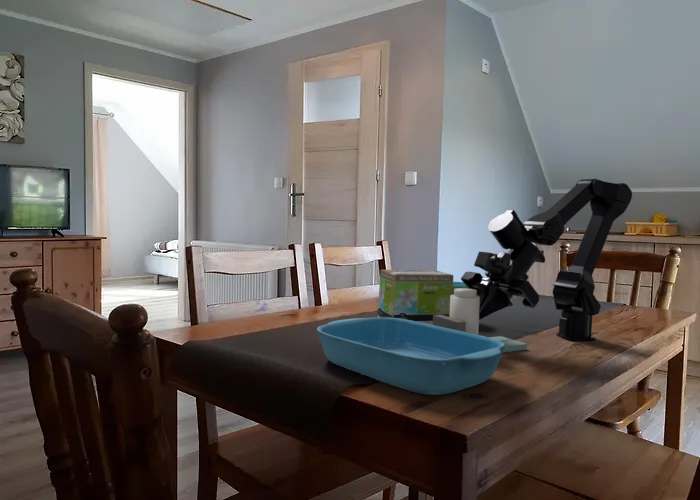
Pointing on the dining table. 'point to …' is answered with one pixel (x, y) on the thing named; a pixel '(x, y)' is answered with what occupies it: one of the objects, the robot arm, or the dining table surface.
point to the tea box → (414, 294)
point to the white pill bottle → (466, 308)
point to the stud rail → (511, 344)
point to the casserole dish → (411, 353)
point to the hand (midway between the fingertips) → (476, 318)
